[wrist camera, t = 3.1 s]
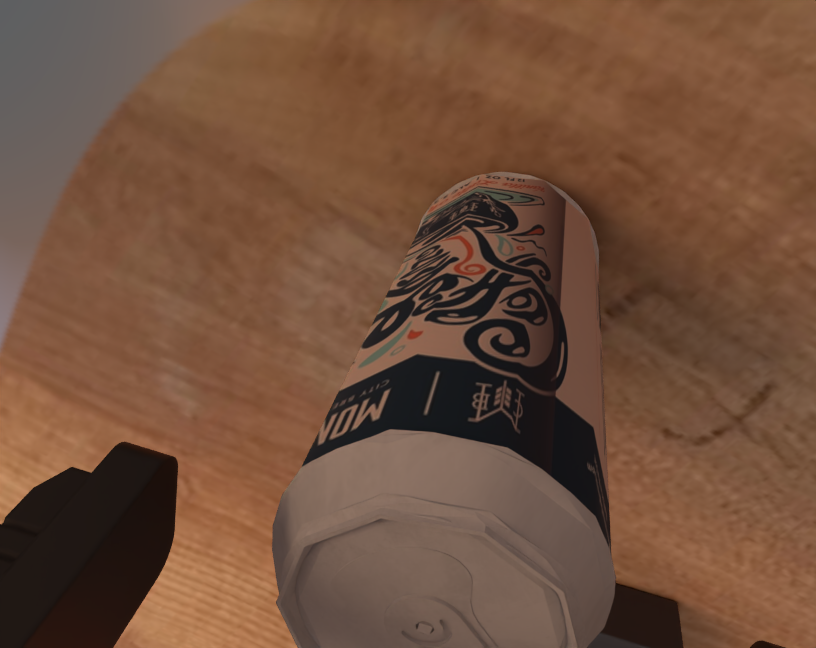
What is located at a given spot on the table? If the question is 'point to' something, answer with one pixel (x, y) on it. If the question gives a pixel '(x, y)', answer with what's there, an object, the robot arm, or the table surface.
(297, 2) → the table surface
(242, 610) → the table surface
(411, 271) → the beer can
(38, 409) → the table surface
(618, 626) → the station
